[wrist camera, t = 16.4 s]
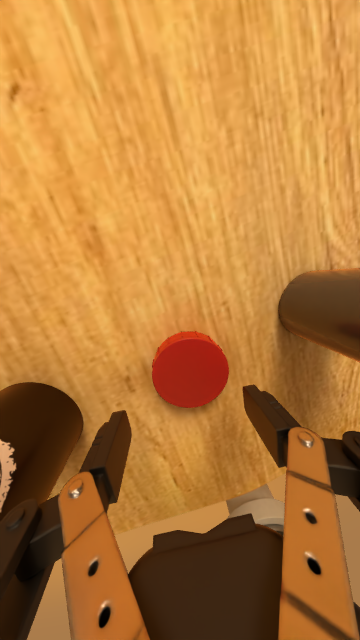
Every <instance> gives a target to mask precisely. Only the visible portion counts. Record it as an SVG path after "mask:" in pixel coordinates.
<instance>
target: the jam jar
mask: <svg viewBox="0 0 360 640" xmlns="http://www.w3.org/2000/svg"><path fill="white" fill-rule="evenodd" d="M279 316H280V319H281V322H282V324H283V325H284V327H285V328H286V329H287V330H288V331H289V332H291V333H293V334H295V335H297V336H299V337H302V338H304V339H306V340H309V341H311V342H313V343H316V344H318V345H320V346H323V347H325V348H327V349H330V350H332V351H334V352H336V353H339V354H341V355H343V356H346V357H348V358H350V359H353V360H355V361H357V362H360V268H351V269H334V270H317V271H310V272H306V273H303V274H302V275H300V276H298V277H297V278H295V279H294V280H293V281H292V282H291V283H290V284H289V285H288V286H287V287H286V289H285V290H284V292H283V294H282V296H281V299H280V303H279Z"/></svg>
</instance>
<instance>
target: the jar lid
mask: <svg viewBox="0 0 360 640" xmlns="http://www.w3.org/2000/svg"><path fill="white" fill-rule="evenodd" d="M152 367H153V371H152V379H153V384H154V387H155V389H156V391H157V392H158V394H159V395H160V396H161V397H162V398H163V399H164V400H165V401H167V402H168V403H170V404H172V405H175V406H178V407H184V408H193V407H198V406H202V405H205V404H207V403H209V402H211V401H212V400H214V399H215V398H216V397H217V396H218V395H219V394H220V393H221V392H222V390H223V389H224V387H225V385H226V383H227V380H228V374H229V367H228V362H227V359H226V357H225V355H224V354H223V352H222V349H221V348H220V347H219V345H217V344H216V343H215V342H214V341H213V340H212V339H211V338H210V337H209V336H206V335H204V334H201V333H198V332H196V331H195V332H181V333H178V334H175V335H173V336H171V337H170V338H169V337H168V339H167V340H165V341H164V342H163V343H162V345H161V346H160V347H158V350H157V352H156V355H155V358H154V359H153V364H152Z"/></svg>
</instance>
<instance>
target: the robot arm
mask: <svg viewBox="0 0 360 640" xmlns="http://www.w3.org/2000/svg"><path fill="white" fill-rule="evenodd" d="M243 398H244V407H245V411H246V414H247V416H248V417H249V419H250V421H251V422H252V424H253V426H254V427H255V429H256V431H257V432H258V434H259V436H260V437H261V439H262V441H263V442H264V444H265V446H266V447H267V449H268V451H269V452H270V454H271V456H272V457H273V459H274V461H275V462H276V464H277V466H278V467H279V468H280V467H285V466H286V467H287V470H286V490H285V513H284V525H280V524H267V525H260V524H255V522H254V519H253V517H252V514H251V513H250V514H246V515H242V516H237V517H233V518H228V519H226V520H225V521H223V522H222V523H220V524H219V525H217V526H216V527H214V528H213V529H211V530H210V531H208V532H207V533H204V534H201V533H194V532H188V531H181V530H176V531H171V532H167V533H162V534H158V535H154V536H153V548H151V549H150V550H148V551H147V552H146V553H145V554H144V555H143V556H142V557H141V558H140V559H139V560H138V561H137V562H136V564H135V565H134V566H133V568H132V569H131V571H130V572H129V574H128V572H127V569H126V566H125V564H124V561H123V558H122V555H121V553H120V550H119V547H118V544H117V541H116V539H115V536H114V533H113V530H112V528H111V525H110V522H109V519H108V516H107V510H108V506H109V504H112V503H116V502H117V500H118V496H119V491H120V487H121V482H122V478H123V473H124V469H125V465H126V460H127V456H128V451H129V447H130V443H131V436H132V433H131V427H130V424H129V420H128V417H127V413H126V411H125V410H122V411H117V412H113V413H112V415H111V418H110V420H109V422H106V423H104V424H103V426H102V427H101V428H100V429H99V430H98V432H97V435H96V437H95V440H94V441H93V443H92V447H91V448H90V450H89V452H88V454H87V456H86V458H85V461H84V463H83V465H82V467H81V469H80V471H79V473H78V474H77V475H75V476H74V477H73V478H71V479H70V480H69V481H68V482H67V483H66V484H65V486H64V487H63V489H62V490H61V492H60V494H58V495H57V496H55V497H53V498H51V499H49V500H47V501H45V502H43V503H42V504H40V505H39V504H38V502H37V500H36V499H27V500H25V501H23V502H21V503H19V504H18V505H17V506H15V507H14V508H13V509H12V510H11V511H9V512H8V513H7V515H6V516H5V517H4V518H3V519H2V520H1V522H0V640H27V637H28V634H29V632H30V629H31V626H32V623H33V621H34V618H35V615H36V612H37V609H38V607H39V604H40V601H41V599H42V596H43V593H44V590H45V588H46V585H47V582H48V580H49V577H50V574H51V571H52V569H53V566H54V563H55V562H56V561H57V560H59V559H60V558H62V567H63V576H64V584H65V592H66V601H67V610H68V618H69V626H70V635H71V640H360V607H359V606H358V605H357V604H356V603H355V602H353V597H352V592H351V586H350V580H349V574H348V568H347V562H346V556H345V551H344V544H343V539H342V533H341V527H340V521H339V515H338V509H337V503H336V498H335V494H338V495H343V496H348V497H349V499H350V500H351V501H352V502H353V504H354V505H355V506H356V507H357V509H358V510H359V511H360V432H356V431H348V432H345V433H344V434H343V438H342V440H338V439H328V438H321V437H320V436H319V435H318V434H316V433H315V432H313V431H312V430H310V429H307V428H304V427H301V426H300V424H299V423H298V422H297V421H296V420H295V419H294V418H293V417H292V416H291V415H290V414H289V413H288V412H287V411H286V409H285V408H283V406H282V405H281V404H280V403H278V401H277V400H276V399H275V398H274V397H273V396H272V395H271V394H269V393H267V392H266V391H262V392H260V390H259V389H258V388H257V387H256V386H255V385H249V386H244V387H243Z"/></svg>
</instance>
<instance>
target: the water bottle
mask: <svg viewBox="0 0 360 640" xmlns="http://www.w3.org/2000/svg"><path fill="white" fill-rule="evenodd" d="M82 428H83V420H82V416H81V413H80V410H79V408H78V407H77V405H76V404H75V402H74V401H73V400H72V399H71V398H70V397H69V396H68V395H66V394H65V393H63V392H62V391H60V390H58V389H56V388H54V387H52V386H49V385H45V384H41V383H19V384H15V385H12V386H9V387H7V388H5V389H3V390H1V391H0V522H1V520H2V519H3V518H4V517H5V516H6V515H7V513H8V512H9V511H11V510H12V509H13V508H14V507H15V506H17V505H18V504H19V503H21V502H23V501H25V500H27V499H36V500H37V502H38V504H39V505H40V504H42V503H43V502H45V501H47V499H48V497H49V495H50V493H51V491H52V489H53V487H54V485H55V483H56V481H57V479H58V478H59V476H60V474H61V472H62V470H63V468H64V466H65V464H66V462H67V460H68V458H69V456H70V454H71V452H72V451H73V449H74V447H75V445H76V443H77V441H78V439H79V437H80V435H81V432H82Z"/></svg>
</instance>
